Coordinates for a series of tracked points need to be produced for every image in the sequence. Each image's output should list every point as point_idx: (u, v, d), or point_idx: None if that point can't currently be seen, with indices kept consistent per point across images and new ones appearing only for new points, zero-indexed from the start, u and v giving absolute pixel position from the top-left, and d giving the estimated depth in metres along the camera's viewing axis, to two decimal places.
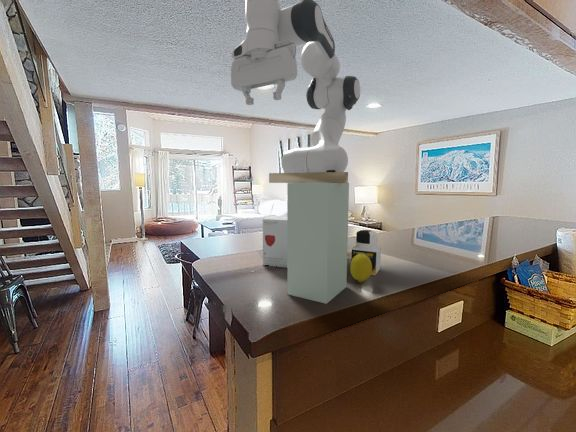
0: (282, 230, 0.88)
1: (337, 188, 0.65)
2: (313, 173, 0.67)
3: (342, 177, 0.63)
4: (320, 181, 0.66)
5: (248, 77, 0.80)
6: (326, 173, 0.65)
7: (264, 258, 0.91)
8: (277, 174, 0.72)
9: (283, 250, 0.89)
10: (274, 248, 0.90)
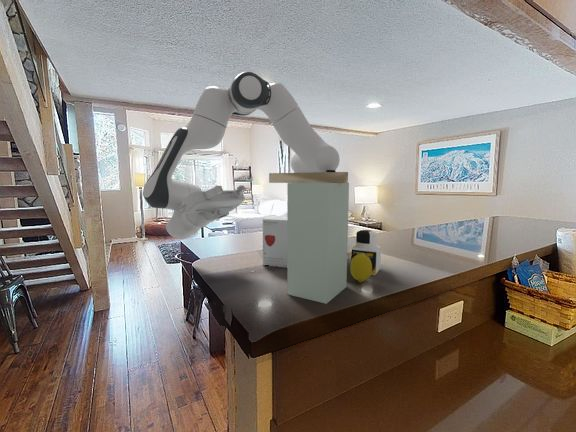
0: (282, 230, 0.88)
1: (337, 188, 0.65)
2: (313, 173, 0.67)
3: (342, 177, 0.63)
4: (320, 181, 0.66)
5: (228, 203, 0.88)
6: (326, 173, 0.65)
7: (264, 258, 0.91)
8: (277, 174, 0.72)
9: (284, 250, 0.89)
10: (274, 248, 0.90)
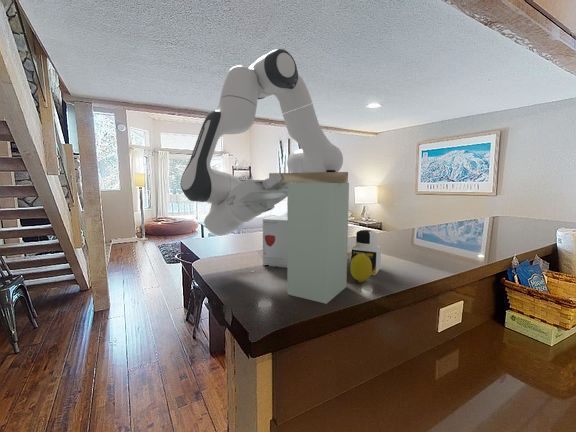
0: (282, 230, 0.88)
1: (337, 188, 0.65)
2: (313, 173, 0.67)
3: (342, 177, 0.63)
4: (320, 181, 0.66)
5: (277, 194, 0.79)
6: (326, 173, 0.65)
7: (264, 258, 0.91)
8: None
9: (283, 250, 0.89)
10: (274, 248, 0.90)
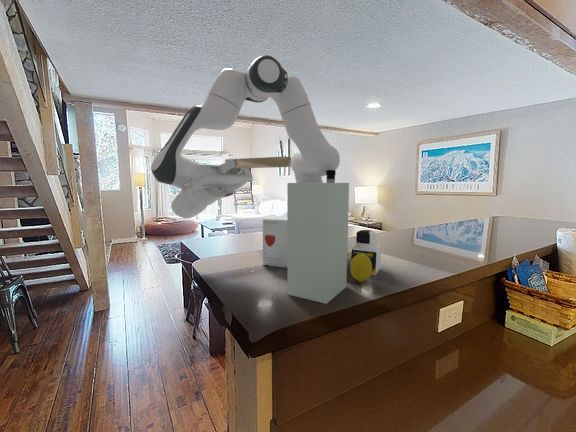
0: (282, 230, 0.88)
1: (337, 188, 0.65)
2: (261, 158, 0.74)
3: (284, 161, 0.71)
4: (267, 165, 0.74)
5: (235, 179, 0.86)
6: (271, 158, 0.73)
7: (264, 258, 0.91)
8: None
9: (283, 250, 0.89)
10: (274, 248, 0.90)
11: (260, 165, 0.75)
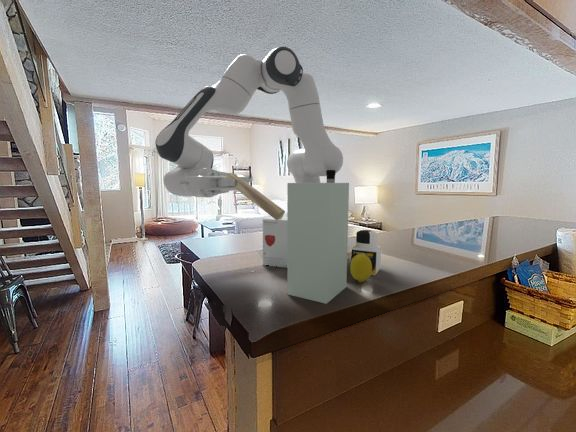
0: (282, 230, 0.88)
1: (337, 188, 0.65)
2: (259, 197, 0.76)
3: (277, 215, 0.73)
4: (261, 206, 0.76)
5: None
6: (267, 204, 0.75)
7: (264, 258, 0.91)
8: (233, 178, 0.80)
9: (284, 250, 0.89)
10: (274, 248, 0.90)
11: (255, 202, 0.77)
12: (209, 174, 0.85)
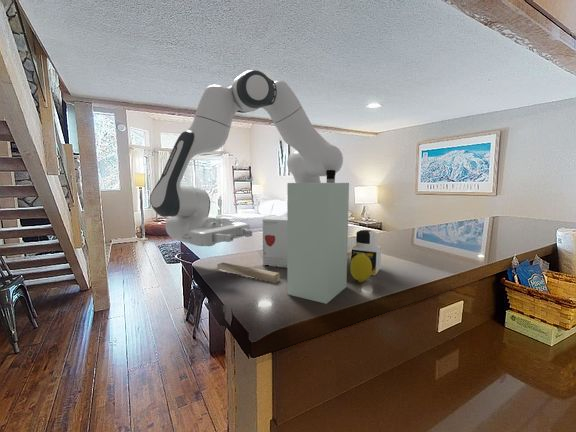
0: (282, 230, 0.88)
1: (337, 188, 0.65)
2: (251, 271, 0.80)
3: (273, 279, 0.76)
4: None
5: None
6: (261, 273, 0.78)
7: (264, 258, 0.91)
8: (224, 266, 0.85)
9: (284, 250, 0.89)
10: (274, 248, 0.90)
11: None
12: (211, 225, 0.86)
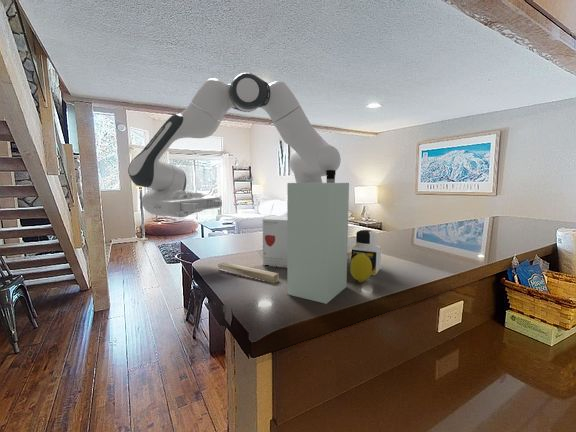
0: (282, 230, 0.88)
1: (337, 188, 0.65)
2: (251, 271, 0.80)
3: (272, 280, 0.76)
4: None
5: None
6: (260, 274, 0.78)
7: (264, 258, 0.91)
8: (224, 266, 0.85)
9: (283, 250, 0.89)
10: (274, 248, 0.90)
11: None
12: (181, 197, 0.92)
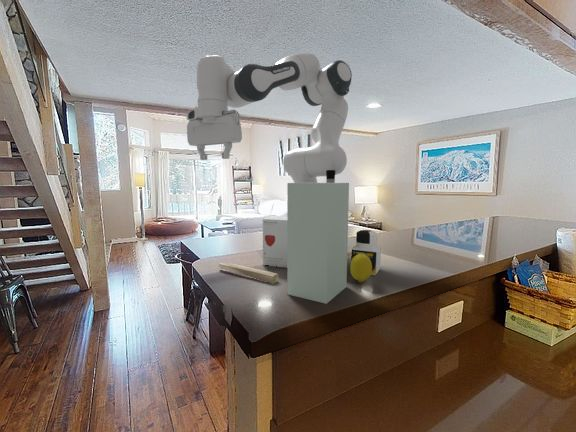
0: (282, 230, 0.88)
1: (337, 188, 0.65)
2: (250, 272, 0.80)
3: (271, 280, 0.76)
4: None
5: (201, 137, 0.90)
6: (260, 274, 0.78)
7: (264, 258, 0.91)
8: (225, 266, 0.85)
9: (283, 250, 0.89)
10: (274, 248, 0.90)
11: None
12: None
